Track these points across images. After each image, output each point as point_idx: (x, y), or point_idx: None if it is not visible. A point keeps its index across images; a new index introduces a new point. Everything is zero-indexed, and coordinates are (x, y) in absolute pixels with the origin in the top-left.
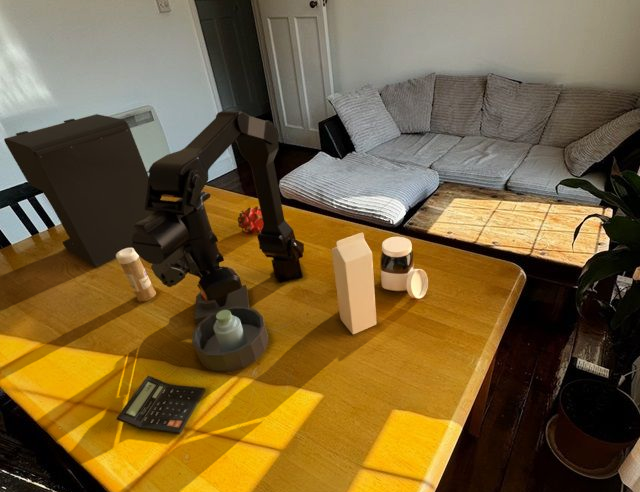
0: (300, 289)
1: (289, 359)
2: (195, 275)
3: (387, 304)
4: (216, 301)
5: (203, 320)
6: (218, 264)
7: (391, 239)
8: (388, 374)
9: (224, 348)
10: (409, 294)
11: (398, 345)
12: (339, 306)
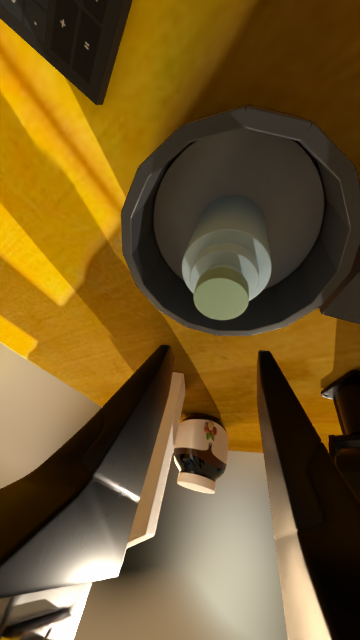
0: (295, 377)
1: (137, 301)
2: (324, 615)
3: None
4: (126, 381)
5: (354, 195)
6: (284, 604)
7: (209, 491)
8: (81, 358)
9: (206, 212)
10: None
11: (116, 380)
12: (174, 397)
